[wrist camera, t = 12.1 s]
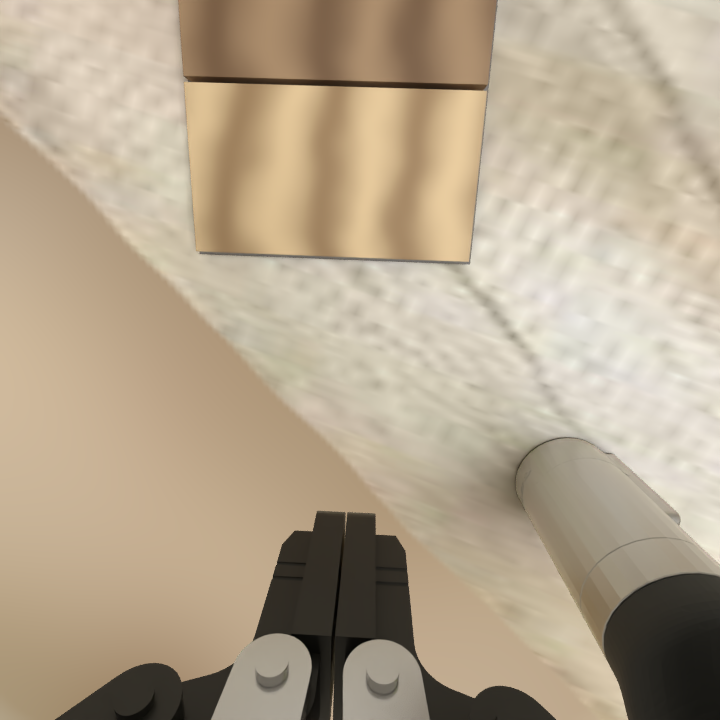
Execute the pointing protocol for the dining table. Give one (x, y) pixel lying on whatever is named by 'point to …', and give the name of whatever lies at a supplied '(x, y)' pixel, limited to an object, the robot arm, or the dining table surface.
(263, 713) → the robot arm
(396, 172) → the oak plank
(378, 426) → the dining table surface
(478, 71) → the walnut plank
